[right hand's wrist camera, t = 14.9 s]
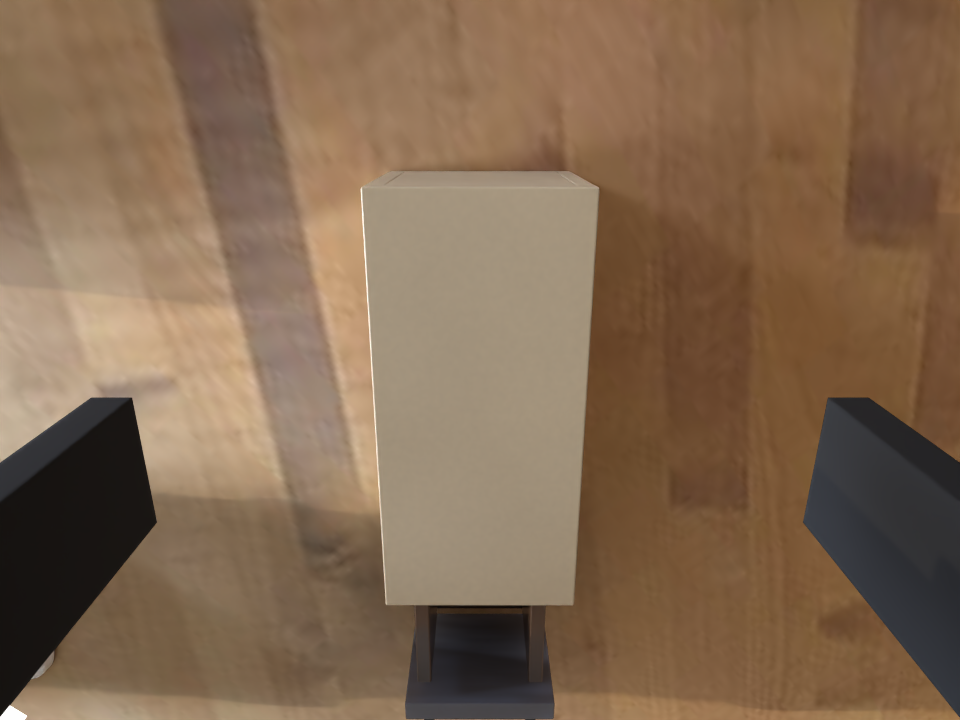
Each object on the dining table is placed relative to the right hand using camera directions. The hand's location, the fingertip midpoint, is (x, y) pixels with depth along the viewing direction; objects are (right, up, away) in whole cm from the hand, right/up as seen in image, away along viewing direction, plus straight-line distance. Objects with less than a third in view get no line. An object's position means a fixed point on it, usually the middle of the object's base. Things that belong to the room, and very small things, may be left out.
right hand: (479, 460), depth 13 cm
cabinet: (0, +2, +26) cm, 26 cm away
